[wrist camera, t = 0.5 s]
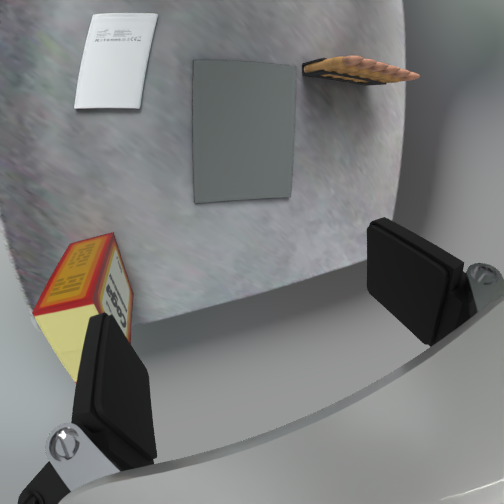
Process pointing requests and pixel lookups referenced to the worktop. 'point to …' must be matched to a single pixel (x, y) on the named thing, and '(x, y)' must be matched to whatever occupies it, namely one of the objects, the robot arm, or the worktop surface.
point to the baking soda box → (84, 297)
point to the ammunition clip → (356, 71)
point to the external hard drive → (115, 60)
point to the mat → (242, 130)
